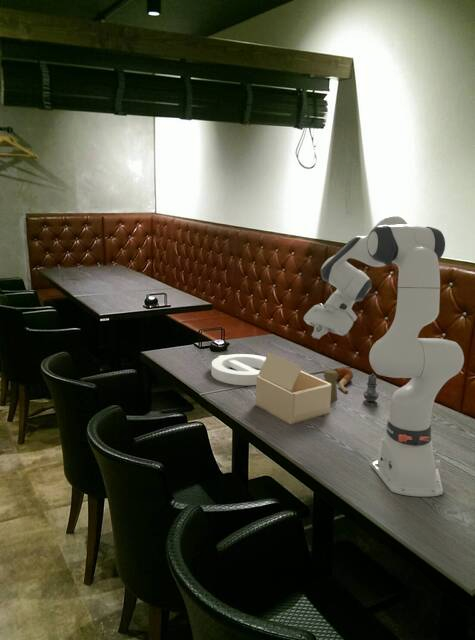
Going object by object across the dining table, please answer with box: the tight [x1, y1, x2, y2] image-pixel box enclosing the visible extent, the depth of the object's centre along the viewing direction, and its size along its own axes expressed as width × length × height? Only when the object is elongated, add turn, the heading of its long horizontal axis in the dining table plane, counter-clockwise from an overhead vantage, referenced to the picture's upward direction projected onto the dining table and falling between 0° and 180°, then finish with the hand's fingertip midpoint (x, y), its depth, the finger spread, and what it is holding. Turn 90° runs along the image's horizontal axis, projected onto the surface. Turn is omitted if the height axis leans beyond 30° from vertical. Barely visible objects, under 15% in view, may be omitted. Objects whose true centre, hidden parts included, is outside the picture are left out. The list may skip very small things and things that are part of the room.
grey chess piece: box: [362, 372, 380, 406], centre depth 211 cm, size 6×6×12 cm
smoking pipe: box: [334, 366, 354, 394], centre depth 229 cm, size 7×18×6 cm, turn 179°
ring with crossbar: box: [210, 353, 267, 386], centre depth 240 cm, size 28×28×5 cm
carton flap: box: [258, 352, 303, 391], centre depth 197 cm, size 1×18×9 cm, turn 35°
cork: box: [323, 369, 338, 402], centre depth 214 cm, size 6×6×11 cm
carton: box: [255, 370, 332, 425], centre depth 203 cm, size 19×21×11 cm
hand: (315, 337), depth 203 cm, fingers closed
